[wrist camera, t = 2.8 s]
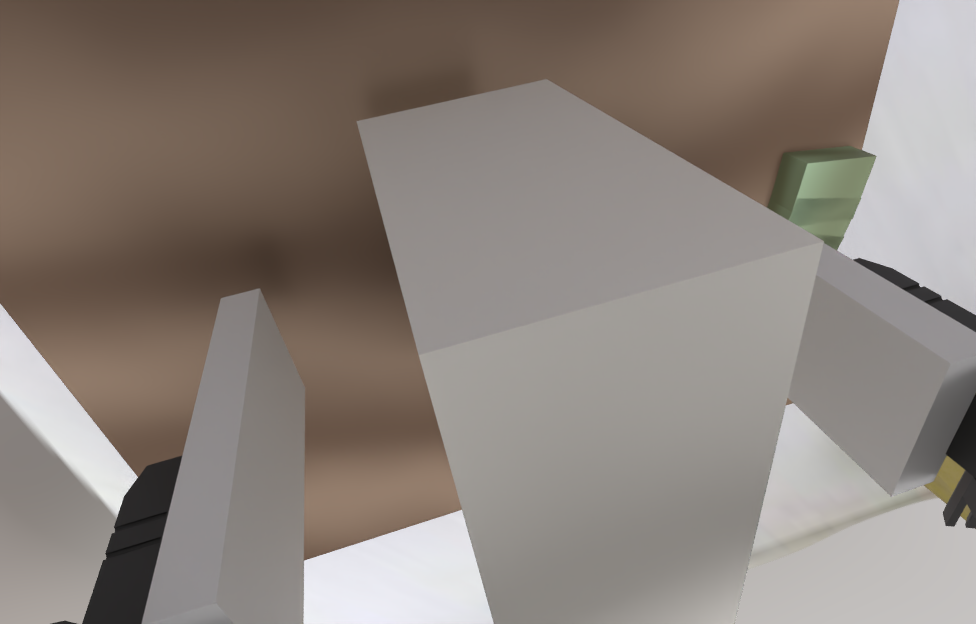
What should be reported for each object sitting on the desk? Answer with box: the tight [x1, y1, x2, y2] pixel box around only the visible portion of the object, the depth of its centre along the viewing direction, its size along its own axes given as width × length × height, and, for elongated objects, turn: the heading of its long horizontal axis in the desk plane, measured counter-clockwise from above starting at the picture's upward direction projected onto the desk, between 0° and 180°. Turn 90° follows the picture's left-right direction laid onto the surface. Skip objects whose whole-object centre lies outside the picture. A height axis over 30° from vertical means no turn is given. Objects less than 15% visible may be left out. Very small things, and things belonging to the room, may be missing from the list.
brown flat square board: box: [0, 0, 899, 560], centre depth 16 cm, size 24×24×3 cm
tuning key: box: [357, 79, 824, 624], centre depth 13 cm, size 16×4×10 cm, turn 8°
